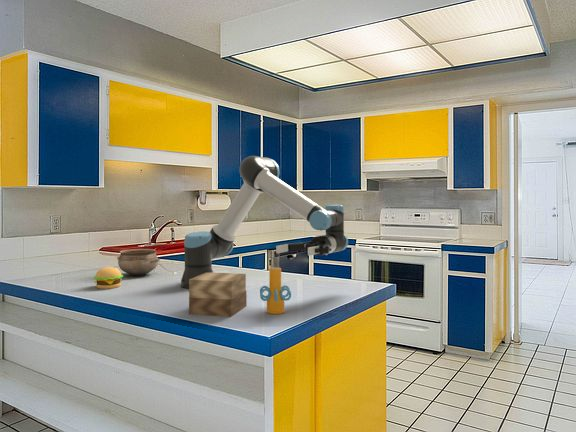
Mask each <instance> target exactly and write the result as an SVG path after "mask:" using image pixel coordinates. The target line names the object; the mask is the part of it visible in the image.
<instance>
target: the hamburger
mask: <svg viewBox="0 0 576 432" xmlns="http://www.w3.org/2000/svg"><path fill="white" fill-rule="evenodd" d="M123 277H124V274H122V272H121V271H120V269H118V268H117V267H113V266H106V267H102V268H99V270H97V272H96V273H95V276H93V279H94V284H95V287H96V288H97V289H102V290H110V289H115V288H119V287H120V286H121V285H122V282H123V279H122V278H123Z"/></svg>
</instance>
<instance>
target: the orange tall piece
mask: <svg viewBox="0 0 576 432" xmlns="http://www.w3.org/2000/svg"><path fill="white" fill-rule="evenodd" d="M268 272H269V278H268V280H269V282H268V284H269V286H267V285H263V286H261V287H260V288H259V296H260V299H261V300H262V302H266V313H268V314H271V315H280V314H284V312H285V301H290V300H291V298H292V291H291V290H290V287H289V286H288V285H282V268H281V267H269V271H268ZM265 291H267V292H268V294H267V295H264V292H265ZM284 291H287V292H286V294H284V295H283V292H284Z"/></svg>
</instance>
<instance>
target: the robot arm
mask: <svg viewBox="0 0 576 432" xmlns="http://www.w3.org/2000/svg"><path fill="white" fill-rule="evenodd" d="M239 175H240V177H241V179H242V180H243V184H242V185H241V188H239V189H238V190H239V191H238V192H237V194H236V196H235V197H234V198H233V200H232V201H231V203H230V205H229V207H228V208H227V209H226V211H225V213H224V214H223V216H222V217H221V219H220V221H219V223H218V224H214V225H213V226H212V227H211V229H210V231H204V230H203V231H193V232H189V233H187V234H186V235H185V236H184V241H183V245H184V249H183V250H184V270H183V274H182V276H181V281H180V287H181V288H184V289H189V279H192V278H194V277H196V276H199V275H201V274H204V273H206V272H211V273H214V270H213V267H212V264H213V263H212V261H213V260H215V259H220V258H224V257H226V256H228V255H229V254H231V253H232V251H233V249H234V246H235V243H234V241H235V239H236V237H235V233H236V232H237V230H238V229H239V227H240V226H241V224H242V222H243V221H244V220H245V217H247V215H248V213H249V212H250V210H251V209H252V207H253V205H254V203H255V202H256V201H257V199H258V197H259V196H260V194H263V193H266V194H268V195H269V196H270V197H272V198H273V199H275V200H276V201H278V202H279V203H281V204H282V205H284V207H286V208H288V209H289V210H291V211H293V212H294V213H295V214H297V215H298V216H299V217H300V218H302V219H304V220H305V221H307V222H308V223H309V224H310V226H311V228H312V229H313V230H316V231H321V232H322V231H325V234H323V235H318V236H317V235H316V236H314V237H313V238H312V239H310V241H301V242H292V243H291V242H289V243H281V244H280V245H276V246H275V248H276V249H275V250H276V251H275V253H276V254H281V253H285V254H287V253H288V252H290V251H291V252H292V251H302V252H307V256H308V257H309V256H310V257H311V256H313V255H314V256H324V255H325V256H328V254H332V253H333V254H334V253H339V252H341V251H344V250H345V249H347V247H348V246H349V239H348V236H347V235H346V234H345V227H344V225H345V224H344V223H345V222H344V221H345V218H344V217H345V212H344V206H343V205H342V204H327V205H325V207H324V208H323V207H322V206H321V205H319V204H318V203H316V202H314V201H313V200H312V199H310V198H309V197H307V196H306V195H305V194H303V193H302V192H299V190H296V189H295V188H293V187H292V186H290V185H289V184H287V183H286V182H284V181H283V180H281V179H280V166H279V164H278V163H277V162H276V160H274V159H272V158H269V157H267V156H266V157H265V156H264V157H263V156H259V155H258V156H257V155H249V156H247V157H245V158H243V160H242V161H241V163H240V165H239Z"/></svg>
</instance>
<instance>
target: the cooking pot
mask: <svg viewBox="0 0 576 432" xmlns="http://www.w3.org/2000/svg"><path fill="white" fill-rule="evenodd" d="M156 251H157V250H156V249H153V248H152V249H151V248H133V249H124V250H120V251H119V253H120V255H119V256H117V258H116V259H117V263H118V267H119V270H121V271H122V272H124V273H125V274H128V275H130V276H131V277H143V276H146V275H147V274H149V273H150V272H152V271H153V270H155V269H156V268H157V267H158V263H159V262H160V260H161V258H158V256H157V253H156Z"/></svg>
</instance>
